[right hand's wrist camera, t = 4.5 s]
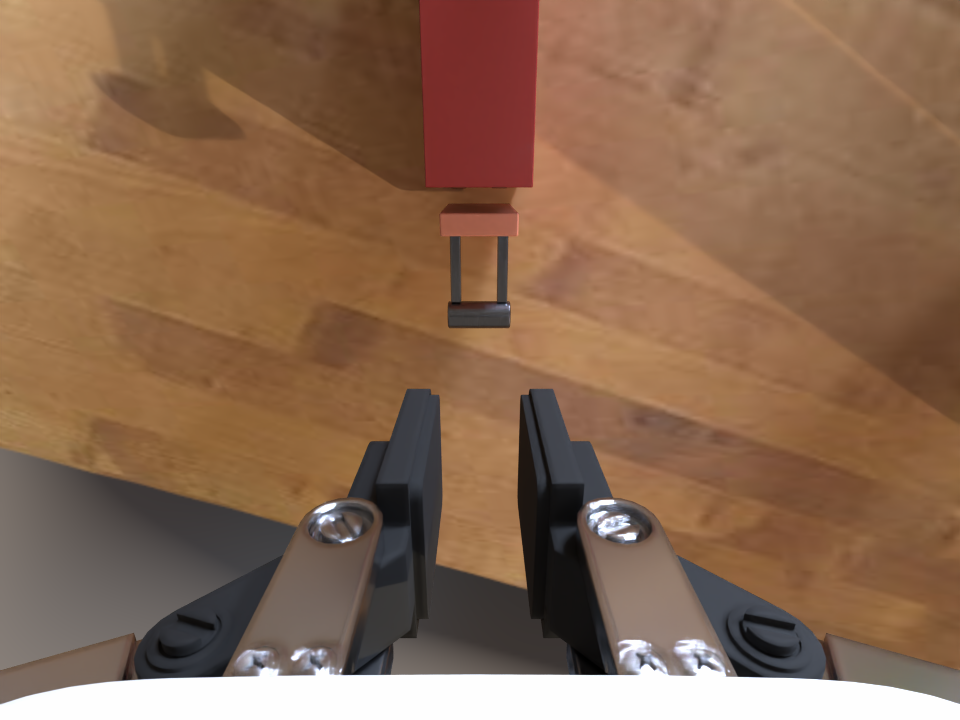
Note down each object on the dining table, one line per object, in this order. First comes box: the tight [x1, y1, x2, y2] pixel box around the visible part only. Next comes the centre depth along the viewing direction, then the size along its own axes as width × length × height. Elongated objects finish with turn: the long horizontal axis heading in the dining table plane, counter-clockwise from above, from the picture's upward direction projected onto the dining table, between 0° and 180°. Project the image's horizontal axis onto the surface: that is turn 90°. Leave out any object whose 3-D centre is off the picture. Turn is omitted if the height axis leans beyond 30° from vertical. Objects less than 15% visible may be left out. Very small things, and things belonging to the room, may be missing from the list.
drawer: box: [440, 187, 519, 328], centre depth 28 cm, size 26×4×8 cm, turn 0°
